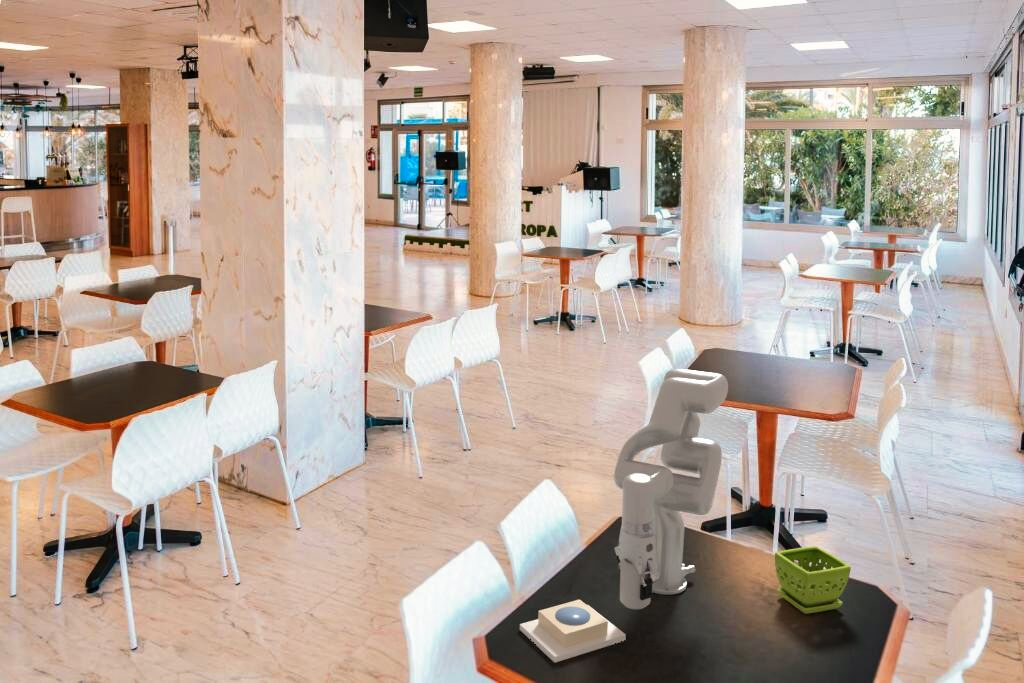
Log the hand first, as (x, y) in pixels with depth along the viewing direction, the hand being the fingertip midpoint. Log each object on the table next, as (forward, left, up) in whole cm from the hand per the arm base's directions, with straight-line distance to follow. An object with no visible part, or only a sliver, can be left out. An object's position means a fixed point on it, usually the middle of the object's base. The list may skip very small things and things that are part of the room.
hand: (635, 590), depth 214 cm
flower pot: (-47, +13, -10) cm, 50 cm away
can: (0, 0, -4) cm, 4 cm away
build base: (+16, -3, -9) cm, 19 cm away
